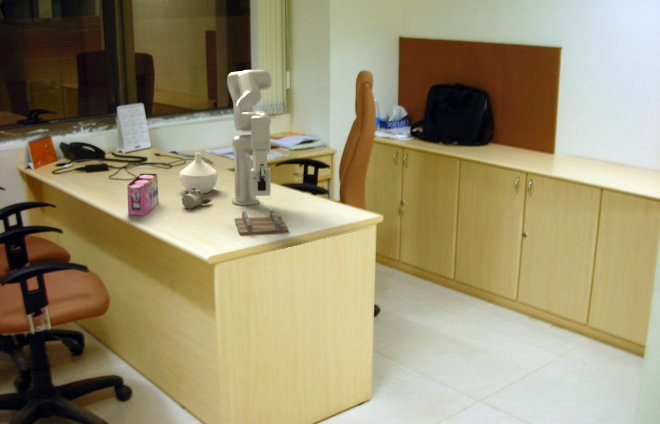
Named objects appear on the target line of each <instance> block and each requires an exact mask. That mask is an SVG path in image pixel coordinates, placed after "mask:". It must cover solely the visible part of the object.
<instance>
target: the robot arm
mask: <svg viewBox="0 0 660 424" xmlns="http://www.w3.org/2000/svg"><path fill="white" fill-rule="evenodd" d="M226 78H227V79H226V81H227V83H226V84H227V89H228V92H229V94H230V97H231V99H232V103H233V104H232V105H233V123H234V127H235V130H236V131H238V132H241V133H243V132H244V133H247V132H248V133H249V132H250V134H240V135H239V134H238V135H237V136H234V138H233V139H232V141H231V147H232V152H233V158H234V159H233V161H234V197H233V198H232V199H231V203H232V204H234V205H238V206H252V205H253V206H254V205H257V204H258V203H259V202H260V199H259V198H258V197H257V196H251V174H250V171H251V168H253V169H254V173H255V174H256V175H257V174H258V180H259V181H258V191H265V190H266V181H265V173H267V168H268V154H270V153H271V149H272V148H271V147H272V146H271V143H272V142H271V127H270V126H271V122H272V121H271V116H270V115H269V113H268V112H266V110H262V109H261V110H253V107H254V106H256V105H258V104H259V103H260V102H261V100H262V93H261V91H267V90H269V89H270V88H271V87H272V83H273V82H272V76H271V73H270V72H269V71H268V70H266V69H245V70H242V71H233V72H230V73H229V74H228V75H227V77H226ZM250 156H251V157H252V158H251V157H250ZM265 171H266V172H265ZM259 172H261V174H259ZM260 175H261V176H260Z"/></svg>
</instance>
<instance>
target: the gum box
mask: <svg viewBox="0 0 660 424" xmlns="http://www.w3.org/2000/svg"><path fill="white" fill-rule="evenodd" d="M158 182H159V180H158V173H143V172H141V173H140V174H138V176H136V177H135V178H134V179H133V180H132V181H129V183H128V184H127V186H126V188H127V215H128V216H146V215H147V214H148V213H149V212H151V210H152V209H153V208H155V206H157V204H158V203H159V185H158V184H159V183H158Z"/></svg>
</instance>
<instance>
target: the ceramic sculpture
mask: <svg viewBox="0 0 660 424" xmlns="http://www.w3.org/2000/svg"><path fill="white" fill-rule="evenodd" d="M212 201H213V198H209V197H208V198H207V197H205V195H204V193H202V192H201V191H199V190H196V189H195V188H193V189H191V190H190V191H189V192H188V193H184V194H183V195H182V198H181V202H182V203H181V204H182V205H183V207H185V208H186V209H188V210H189V209H193V208H194V207H197V206H200V205H208V204H209V203H211V202H212Z"/></svg>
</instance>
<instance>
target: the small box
mask: <svg viewBox="0 0 660 424" xmlns="http://www.w3.org/2000/svg"><path fill="white" fill-rule="evenodd" d="M265 172H266V171H265ZM250 174H251V196H256V197H257V196H258V197H260V196H264V197H268V196H269V197H270V196H271V191H272V190H271V186H272V185H271V168H270V167H269V168H268V167H267V173H265V181H266V190H265V191H258V181H259V180H258V174H257V175H256V174H255V173H254V169H253V168H251V171H250ZM259 174H261V172H259ZM260 176H261V175H260Z"/></svg>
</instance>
